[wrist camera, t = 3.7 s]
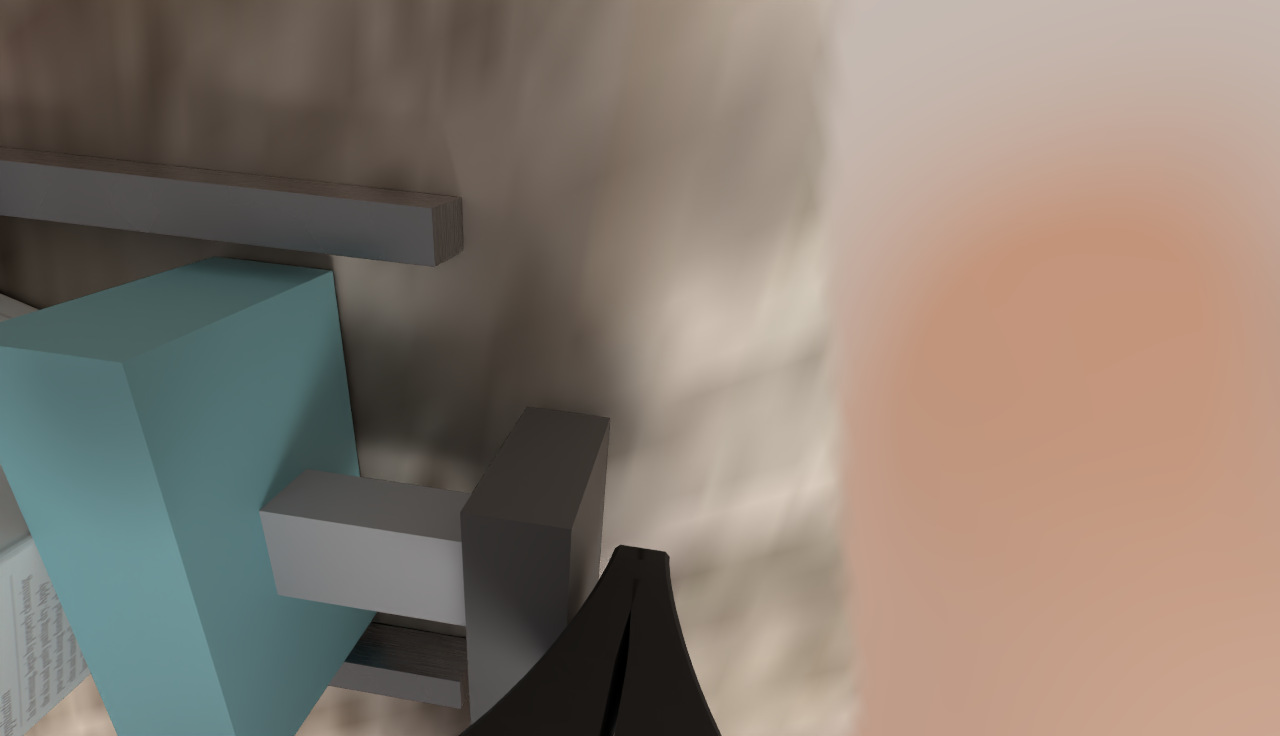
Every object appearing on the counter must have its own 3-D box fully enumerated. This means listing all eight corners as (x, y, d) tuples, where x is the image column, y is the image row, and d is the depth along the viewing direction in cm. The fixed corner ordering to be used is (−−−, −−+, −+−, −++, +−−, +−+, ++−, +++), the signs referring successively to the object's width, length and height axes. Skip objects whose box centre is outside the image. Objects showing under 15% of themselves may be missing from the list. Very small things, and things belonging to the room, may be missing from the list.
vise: (479, 666, 20) (386, 884, 14) (-44, 577, 21) (-311, 743, 16) (461, 197, 13) (281, 264, 8) (-282, 115, 15) (-869, 124, 9)
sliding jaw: (596, 647, 18) (550, 853, 13) (287, 596, 19) (133, 772, 14) (622, 305, 14) (566, 423, 9) (214, 256, 14) (-54, 338, 9)
